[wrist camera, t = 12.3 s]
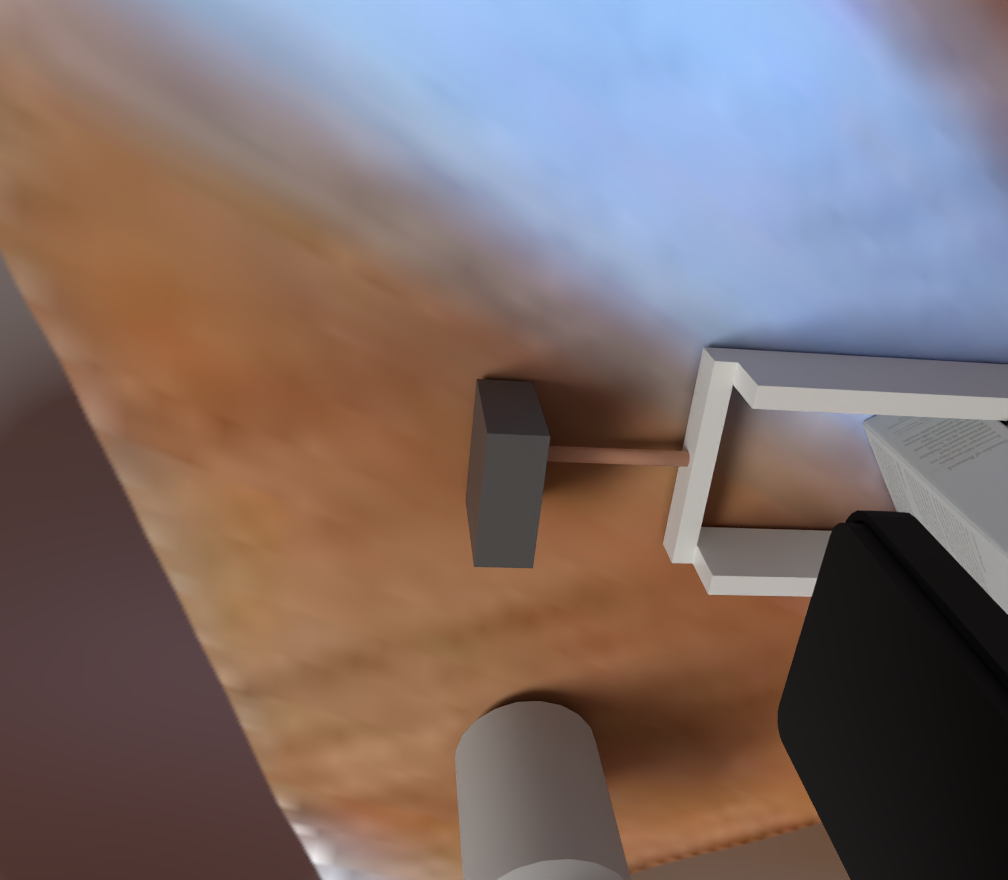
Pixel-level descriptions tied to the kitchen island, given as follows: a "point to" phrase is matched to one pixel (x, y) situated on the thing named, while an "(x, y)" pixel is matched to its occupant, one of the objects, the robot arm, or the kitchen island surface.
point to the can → (535, 798)
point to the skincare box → (951, 487)
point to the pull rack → (708, 455)
